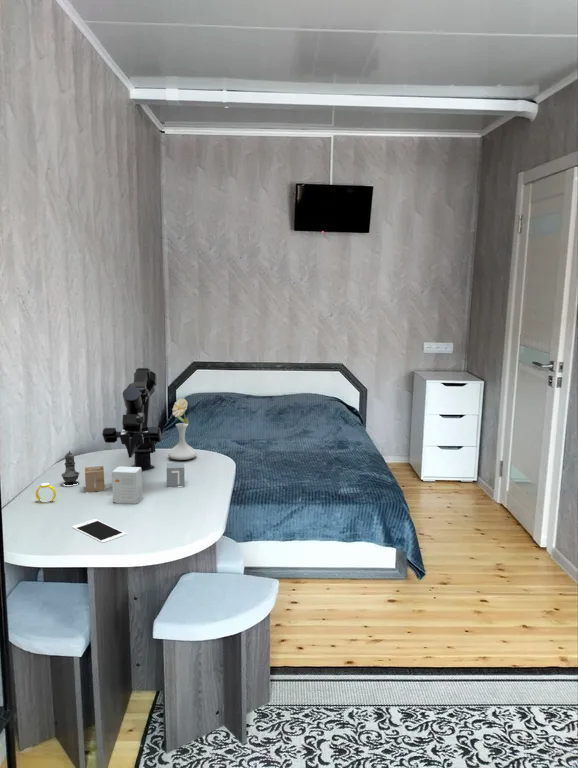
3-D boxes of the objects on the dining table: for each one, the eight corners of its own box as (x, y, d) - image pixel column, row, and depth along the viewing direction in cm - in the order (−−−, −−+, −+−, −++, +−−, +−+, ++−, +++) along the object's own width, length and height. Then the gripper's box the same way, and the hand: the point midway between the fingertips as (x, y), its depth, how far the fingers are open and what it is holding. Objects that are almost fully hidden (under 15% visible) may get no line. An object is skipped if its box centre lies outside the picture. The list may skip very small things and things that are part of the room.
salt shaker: (58, 485, 208) (56, 451, 206) (70, 480, 213) (68, 447, 211) (71, 487, 205) (70, 453, 203) (83, 482, 211) (82, 449, 209)
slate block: (167, 482, 213) (166, 463, 212) (184, 481, 214) (184, 462, 213) (166, 488, 207) (166, 468, 206) (184, 487, 208) (184, 467, 207)
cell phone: (95, 520, 179) (95, 518, 179) (127, 535, 169) (127, 533, 169) (71, 528, 173) (71, 526, 173) (102, 544, 163) (102, 542, 163)
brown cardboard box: (85, 487, 207) (84, 466, 205) (104, 485, 209) (103, 465, 207) (85, 493, 201) (84, 472, 200) (104, 491, 203) (103, 470, 202)
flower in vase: (165, 455, 244) (163, 395, 240) (192, 452, 249) (192, 393, 244) (172, 464, 232) (171, 401, 228) (201, 461, 237) (200, 399, 233)
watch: (35, 504, 191) (33, 486, 190) (39, 501, 194) (36, 483, 193) (54, 502, 191) (52, 485, 190) (57, 499, 194) (55, 482, 193)
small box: (143, 497, 197) (142, 467, 195) (137, 504, 192) (136, 472, 190) (119, 496, 198) (118, 465, 196) (112, 502, 192) (111, 471, 191)
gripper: (102, 404, 200) (96, 445, 191) (159, 403, 202) (156, 444, 193) (107, 421, 209) (102, 462, 200) (162, 421, 211) (159, 461, 202)
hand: (130, 457), depth 199 cm, fingers closed
